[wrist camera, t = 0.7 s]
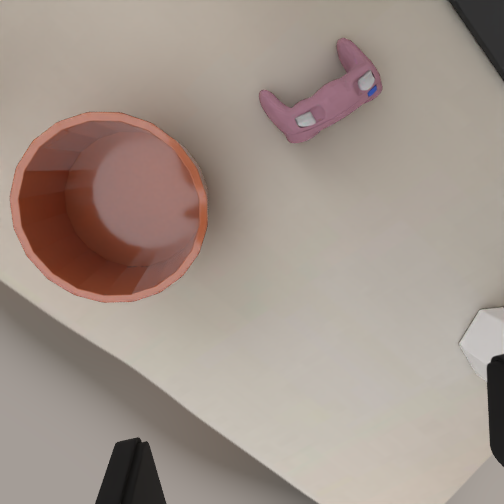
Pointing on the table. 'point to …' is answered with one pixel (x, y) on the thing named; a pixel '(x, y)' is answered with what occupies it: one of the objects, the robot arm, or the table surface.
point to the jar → (484, 339)
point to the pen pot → (109, 206)
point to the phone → (485, 26)
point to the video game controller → (327, 97)
